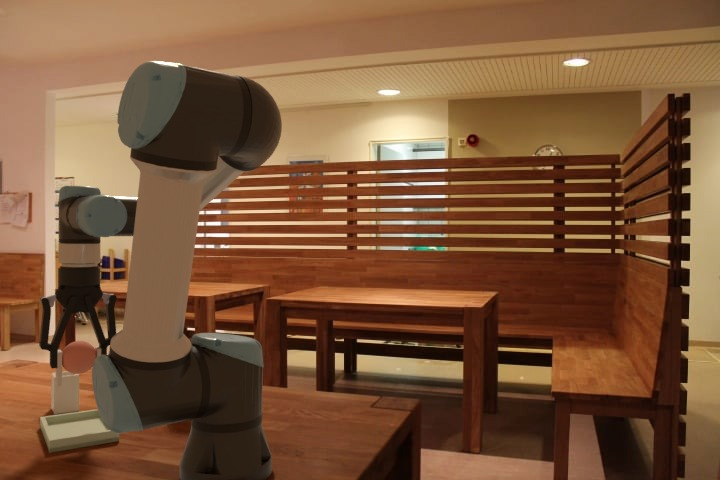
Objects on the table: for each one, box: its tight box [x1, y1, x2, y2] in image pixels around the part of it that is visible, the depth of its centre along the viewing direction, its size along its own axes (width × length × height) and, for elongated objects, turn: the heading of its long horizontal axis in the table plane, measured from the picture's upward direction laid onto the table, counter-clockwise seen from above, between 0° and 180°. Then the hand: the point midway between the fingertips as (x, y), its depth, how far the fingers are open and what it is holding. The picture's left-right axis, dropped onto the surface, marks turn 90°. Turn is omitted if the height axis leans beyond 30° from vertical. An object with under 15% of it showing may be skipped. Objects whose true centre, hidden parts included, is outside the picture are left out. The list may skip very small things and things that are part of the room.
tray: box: [39, 408, 120, 453], centre depth 120 cm, size 16×12×2 cm
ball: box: [61, 340, 96, 375], centre depth 120 cm, size 6×6×6 cm
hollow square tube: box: [50, 370, 80, 415], centre depth 136 cm, size 5×5×8 cm
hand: (78, 381), depth 120 cm, fingers closed on ball, 6 cm apart
